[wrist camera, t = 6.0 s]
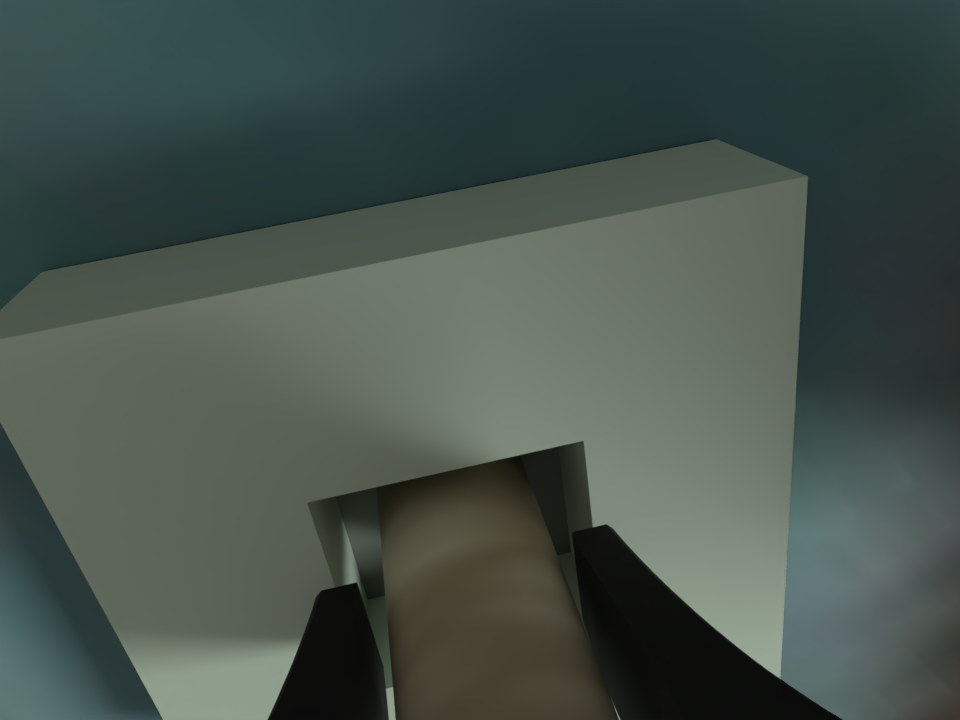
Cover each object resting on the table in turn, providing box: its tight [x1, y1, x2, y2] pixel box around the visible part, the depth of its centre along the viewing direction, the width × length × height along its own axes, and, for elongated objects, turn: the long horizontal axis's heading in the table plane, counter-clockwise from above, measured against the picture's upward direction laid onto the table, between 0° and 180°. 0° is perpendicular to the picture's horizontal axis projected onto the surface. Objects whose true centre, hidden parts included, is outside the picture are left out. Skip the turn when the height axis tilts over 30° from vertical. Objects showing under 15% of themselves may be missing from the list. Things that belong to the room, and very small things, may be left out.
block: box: [0, 139, 808, 720], centre depth 14 cm, size 12×12×3 cm
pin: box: [376, 455, 619, 720], centre depth 12 cm, size 3×3×7 cm
